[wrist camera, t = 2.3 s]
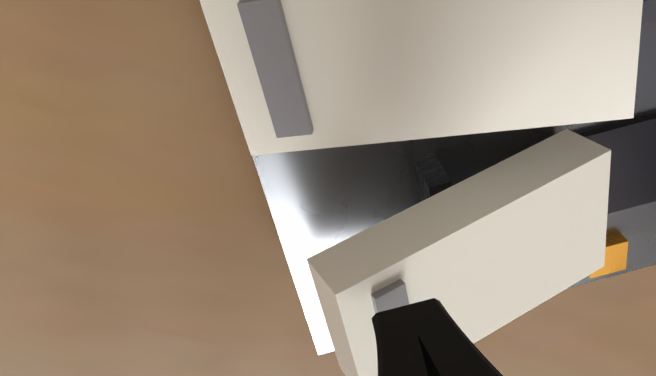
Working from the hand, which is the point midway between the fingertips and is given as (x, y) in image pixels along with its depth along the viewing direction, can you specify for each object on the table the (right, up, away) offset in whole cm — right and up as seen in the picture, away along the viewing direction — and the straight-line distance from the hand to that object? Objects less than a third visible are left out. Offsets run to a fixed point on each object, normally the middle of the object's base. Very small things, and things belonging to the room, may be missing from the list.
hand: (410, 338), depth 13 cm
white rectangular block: (+2, +2, +4) cm, 5 cm away
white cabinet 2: (0, +7, +1) cm, 7 cm away
